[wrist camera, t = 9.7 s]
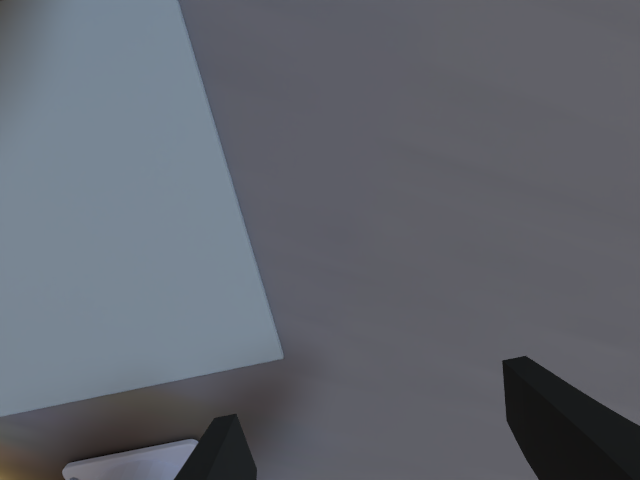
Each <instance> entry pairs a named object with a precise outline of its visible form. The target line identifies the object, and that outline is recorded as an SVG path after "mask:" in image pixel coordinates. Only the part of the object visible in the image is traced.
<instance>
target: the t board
mask: <svg viewBox="0 0 640 480" xmlns="http://www.w3.org/2000/svg"><path fill="white" fill-rule="evenodd" d="M279 359H284V354H283V351H282V347H281V344H280V341H279V337H278V334H277V331H276V327H275V324H274V321H273V317H272V314H271V310H270V307H269V304H268V300H267V297H266V294H265V290H264V287H263V284H262V280H261V277H260V274H259V270H258V267H257V264H256V260H255V257H254V253H253V250H252V247H251V243H250V240H249V237H248V233H247V230H246V227H245V223H244V220H243V217H242V213H241V210H240V206H239V203H238V200H237V196H236V193H235V190H234V186H233V183H232V180H231V176H230V173H229V170H228V166H227V163H226V160H225V156H224V153H223V149H222V146H221V143H220V139H219V136H218V133H217V129H216V126H215V123H214V119H213V116H212V113H211V109H210V106H209V102H208V99H207V96H206V92H205V89H204V86H203V82H202V79H201V76H200V72H199V69H198V66H197V62H196V59H195V55H194V52H193V49H192V45H191V42H190V39H189V35H188V32H187V29H186V25H185V22H184V19H183V15H182V12H181V9H180V5H179V2H178V0H2V1H0V417H1V416H6V415H11V414H16V413H21V412H26V411H30V410H35V409H40V408H45V407H50V406H55V405H60V404H65V403H70V402H74V401H79V400H84V399H89V398H94V397H99V396H104V395H109V394H113V393H118V392H123V391H128V390H133V389H138V388H143V387H148V386H152V385H157V384H162V383H167V382H172V381H177V380H182V379H187V378H191V377H196V376H201V375H206V374H211V373H216V372H221V371H226V370H231V369H235V368H240V367H245V366H250V365H255V364H260V363H265V362H270V361H274V360H279Z"/></svg>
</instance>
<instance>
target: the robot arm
mask: <svg viewBox="0 0 640 480" xmlns="http://www.w3.org/2000/svg"><path fill="white" fill-rule="evenodd" d="M502 363H503V376H504V390H505V404H506V417H507V422H508V424H509V426H510V428H511V430H512V432H513V434H514V437H515V439H516V441H517V443H518V445H519V446H520V448H521V450H522V452H523V454H524V456H525V458H526V460H527V462H528V463H529V465H530V466H531V468H532V469H533V471H534V473H535V474H536V476H537V477H538V479H539V480H640V426H639V425H637V424H635V423H633V422H631V421H630V420H628V419H626V418H624V417H623V416H621V415H619V414H618V413H616V412H614V411H612V410H611V409H609V408H607V407H606V406H604V405H602V404H601V403H599V402H597V401H596V400H594V399H592V398H591V397H589V396H588V395H586V394H584V393H583V392H581V391H579V390H578V389H576V388H575V387H573V386H572V385H570V384H568V383H567V382H565V381H564V380H562V379H561V378H559V377H558V376H556V375H554V374H553V373H551V372H550V371H548V370H547V369H545V368H544V367H542V366H541V365H539V364H537V363H536V362H534V361H533V360H531V359H530V358H528V357H526V356H523V357H518V358H513V359H508V360H503V361H502ZM62 474H63V476H64V478H65V480H256V476H257V469H256V466H255V463H254V460H253V458H252V455H251V452H250V450H249V447H248V444H247V441H246V439H245V436H244V433H243V431H242V428H241V425H240V422H239V420H238V417H237V414H233V415H228V416H223V417H218V418H214V420H213V421H212V423H211V424H210V426H209V427H208V429H207V430H206V432H205V433H204V435H203V436H202V438H201V439H200V441H199V442H198V441H196V440H194V439H187V440H182V441H177V442H172V443H167V444H162V445H157V446H152V447H147V448H142V449H137V450H132V451H127V452H122V453H117V454H111V455H106V456H101V457H96V458H91V459H86V460H81V461H76V462H71V463H68V464H67V465H66V466H65V467H64V469H63V471H62Z"/></svg>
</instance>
